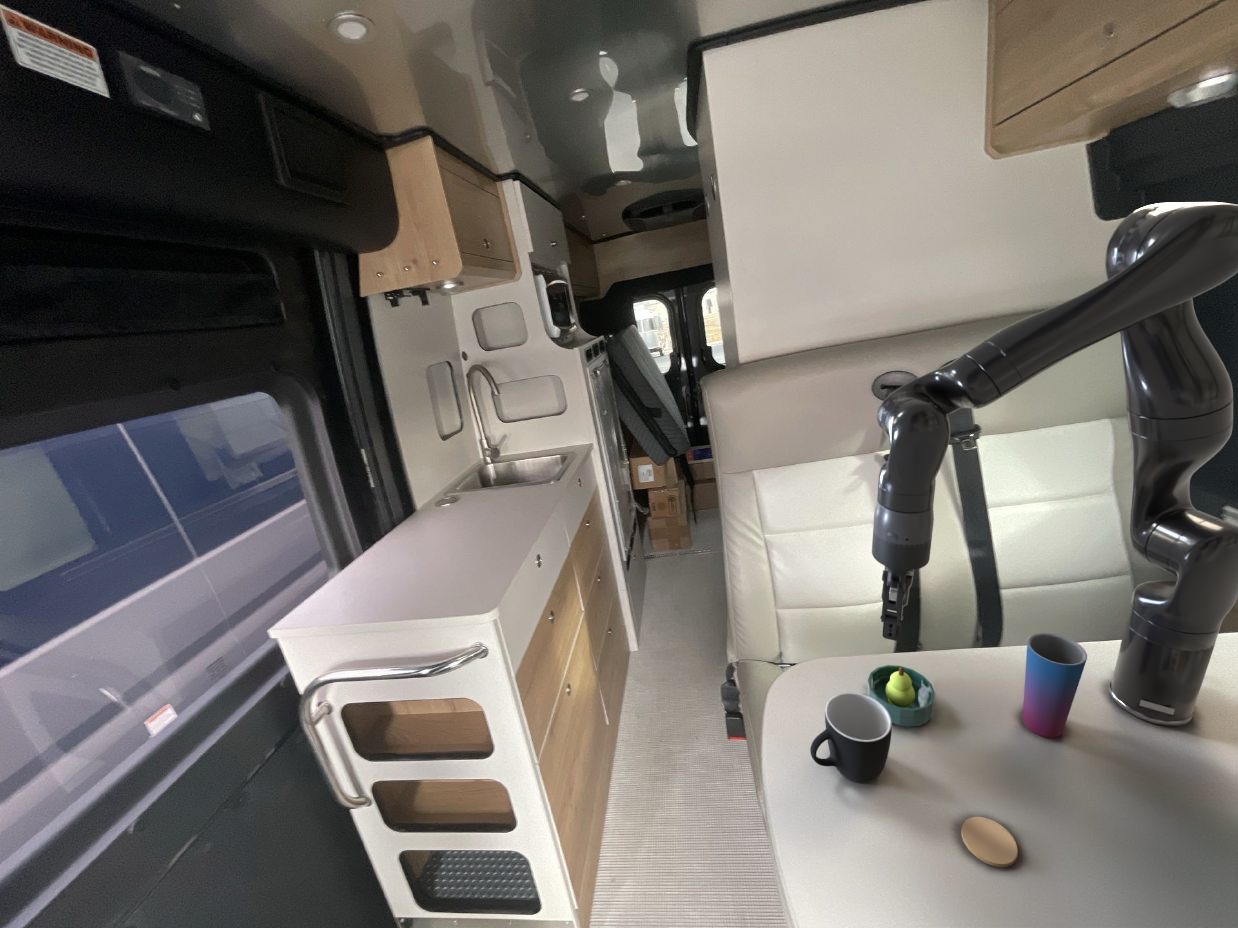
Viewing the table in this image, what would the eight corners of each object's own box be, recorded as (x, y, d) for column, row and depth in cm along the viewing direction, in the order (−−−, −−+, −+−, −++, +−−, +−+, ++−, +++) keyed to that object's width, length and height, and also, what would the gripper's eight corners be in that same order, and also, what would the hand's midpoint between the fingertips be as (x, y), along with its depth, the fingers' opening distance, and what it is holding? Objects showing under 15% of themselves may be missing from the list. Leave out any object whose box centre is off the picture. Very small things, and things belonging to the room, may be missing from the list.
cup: (1080, 744, 79) (1098, 665, 74) (1028, 741, 81) (1041, 664, 75) (1055, 707, 85) (1070, 632, 80) (1007, 705, 87) (1018, 632, 81)
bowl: (875, 675, 97) (876, 658, 95) (937, 695, 91) (939, 677, 89) (861, 713, 90) (861, 695, 88) (927, 737, 84) (928, 719, 82)
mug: (865, 733, 86) (866, 685, 82) (903, 781, 78) (906, 731, 74) (796, 753, 85) (795, 706, 81) (828, 805, 76) (827, 755, 73)
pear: (888, 688, 93) (889, 654, 90) (916, 698, 90) (919, 663, 88) (882, 706, 90) (883, 671, 87) (911, 716, 87) (913, 681, 84)
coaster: (964, 811, 73) (964, 808, 73) (1018, 834, 69) (1019, 831, 69) (958, 850, 69) (958, 847, 68) (1015, 876, 65) (1016, 873, 65)
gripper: (928, 560, 69) (917, 658, 75) (935, 511, 80) (925, 600, 86) (865, 549, 73) (860, 643, 79) (880, 504, 84) (874, 589, 90)
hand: (894, 620), depth 82 cm, fingers open, 8 cm apart
